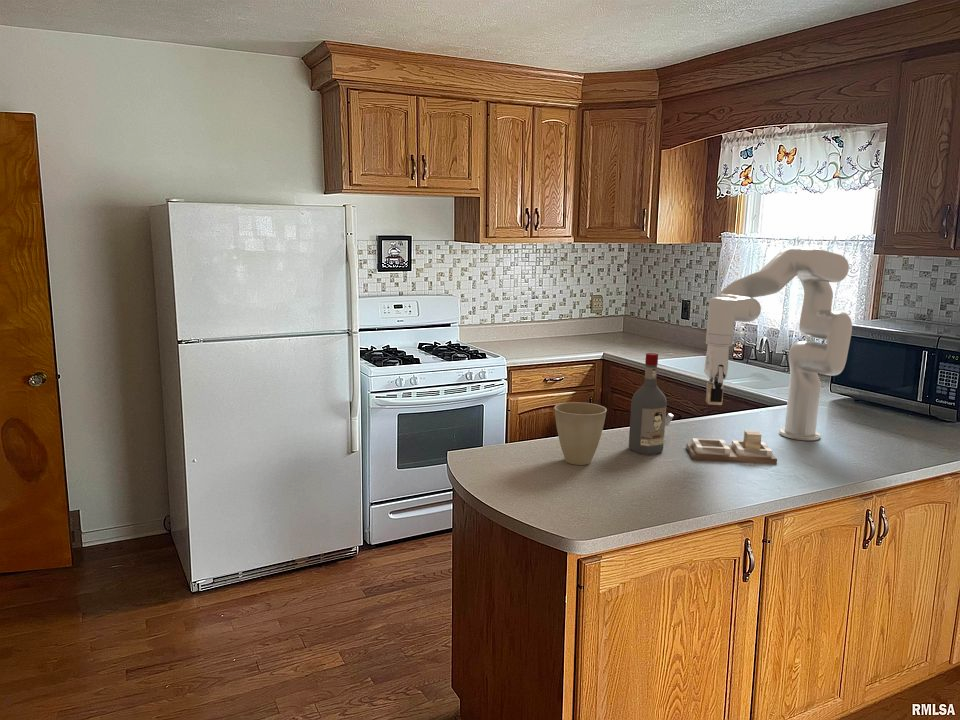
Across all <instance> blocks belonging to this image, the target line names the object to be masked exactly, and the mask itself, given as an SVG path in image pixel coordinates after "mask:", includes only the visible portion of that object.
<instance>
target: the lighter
mask: <svg viewBox="0 0 960 720" xmlns="http://www.w3.org/2000/svg"><path fill="white" fill-rule="evenodd" d="M673 418H674V414H672V412H670V413H667V414H666V417H665V427H668V426H670V423H672V420H673ZM665 432H666V430H665V431H664V436H666V435H665Z"/></svg>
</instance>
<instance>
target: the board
mask: <svg viewBox="0 0 960 720" xmlns="http://www.w3.org/2000/svg"><path fill="white" fill-rule="evenodd" d="M686 447H687V448H686V449H688V450H687V451H688V453H689V455H690V456H691V458H693V459H692V461H693V460H694V461H695V460H696V461H709V462H711V461H712V462H714V461H715V462H728V463H729V462H730V463H753V464H769V465H772V464H773V465H777V464H778V458H777V456H776V455H774V454H773V450H772V449H771V448H770V447H769V446H768V445H767V444H766V442H765V441H762V433H761V432H760V431H759V430H744V431H743V440H741V439H740V440H739V439H737V440H736V439H732V440H731V444H727V442H726V440H725V439H719V438H697V437H696V438H695V437H692V438H691V442H686Z"/></svg>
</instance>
